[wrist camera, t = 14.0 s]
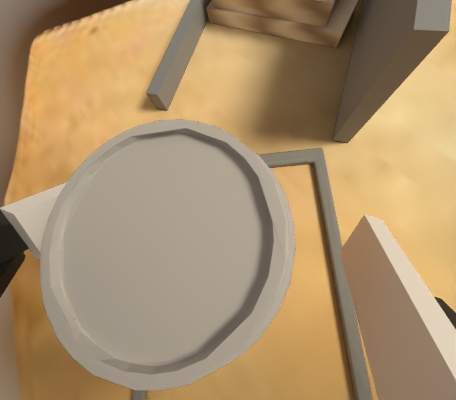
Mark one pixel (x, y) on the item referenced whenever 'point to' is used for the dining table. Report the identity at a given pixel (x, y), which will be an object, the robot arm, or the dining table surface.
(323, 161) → the empty picture frame
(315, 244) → the dining table surface
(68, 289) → the disposable coffee cup
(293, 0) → the offcut stack
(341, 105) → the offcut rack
